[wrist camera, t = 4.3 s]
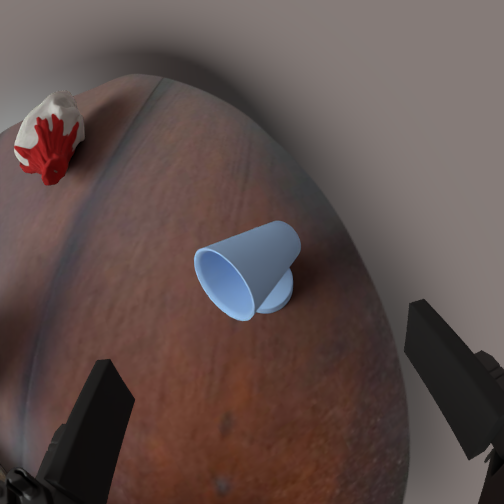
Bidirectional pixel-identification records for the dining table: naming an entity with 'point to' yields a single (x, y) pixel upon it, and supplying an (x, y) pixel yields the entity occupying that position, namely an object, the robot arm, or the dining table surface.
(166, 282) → the dining table surface
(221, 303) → the spotlight
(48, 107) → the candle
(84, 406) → the robot arm
